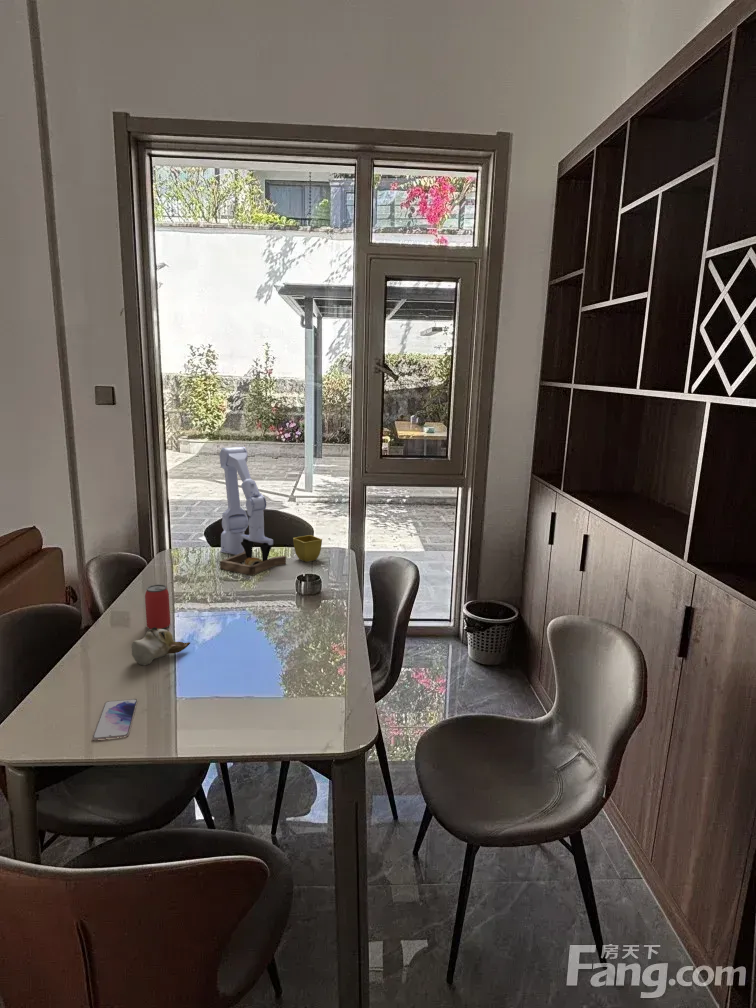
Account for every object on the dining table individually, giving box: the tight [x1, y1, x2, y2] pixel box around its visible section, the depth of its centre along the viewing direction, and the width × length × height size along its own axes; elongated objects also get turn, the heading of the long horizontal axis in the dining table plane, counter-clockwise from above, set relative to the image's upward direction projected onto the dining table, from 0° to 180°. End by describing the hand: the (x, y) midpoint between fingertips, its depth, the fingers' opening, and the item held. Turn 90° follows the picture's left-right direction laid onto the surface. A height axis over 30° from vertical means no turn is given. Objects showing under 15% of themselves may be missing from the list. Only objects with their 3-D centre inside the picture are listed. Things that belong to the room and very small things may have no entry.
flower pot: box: [292, 534, 323, 563], centre depth 245 cm, size 9×9×9 cm
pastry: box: [244, 556, 262, 566], centre depth 237 cm, size 9×7×4 cm
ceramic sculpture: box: [131, 627, 191, 666], centre depth 159 cm, size 11×9×15 cm
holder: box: [219, 550, 287, 576], centre depth 237 cm, size 20×18×3 cm
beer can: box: [144, 584, 171, 630], centre depth 178 cm, size 7×7×12 cm
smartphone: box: [91, 698, 138, 741], centre depth 131 cm, size 7×1×15 cm
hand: (257, 559), depth 240 cm, fingers open, 7 cm apart
